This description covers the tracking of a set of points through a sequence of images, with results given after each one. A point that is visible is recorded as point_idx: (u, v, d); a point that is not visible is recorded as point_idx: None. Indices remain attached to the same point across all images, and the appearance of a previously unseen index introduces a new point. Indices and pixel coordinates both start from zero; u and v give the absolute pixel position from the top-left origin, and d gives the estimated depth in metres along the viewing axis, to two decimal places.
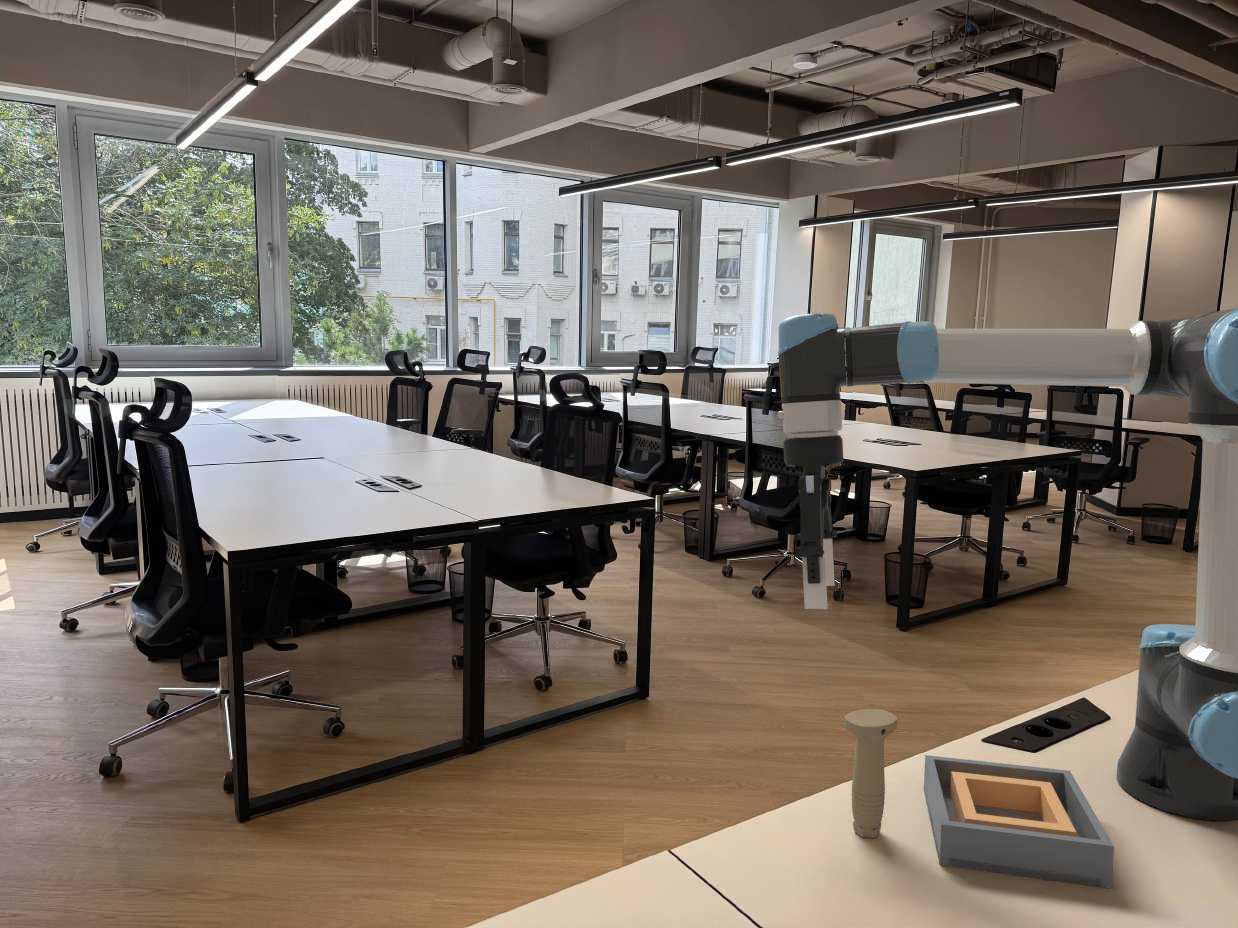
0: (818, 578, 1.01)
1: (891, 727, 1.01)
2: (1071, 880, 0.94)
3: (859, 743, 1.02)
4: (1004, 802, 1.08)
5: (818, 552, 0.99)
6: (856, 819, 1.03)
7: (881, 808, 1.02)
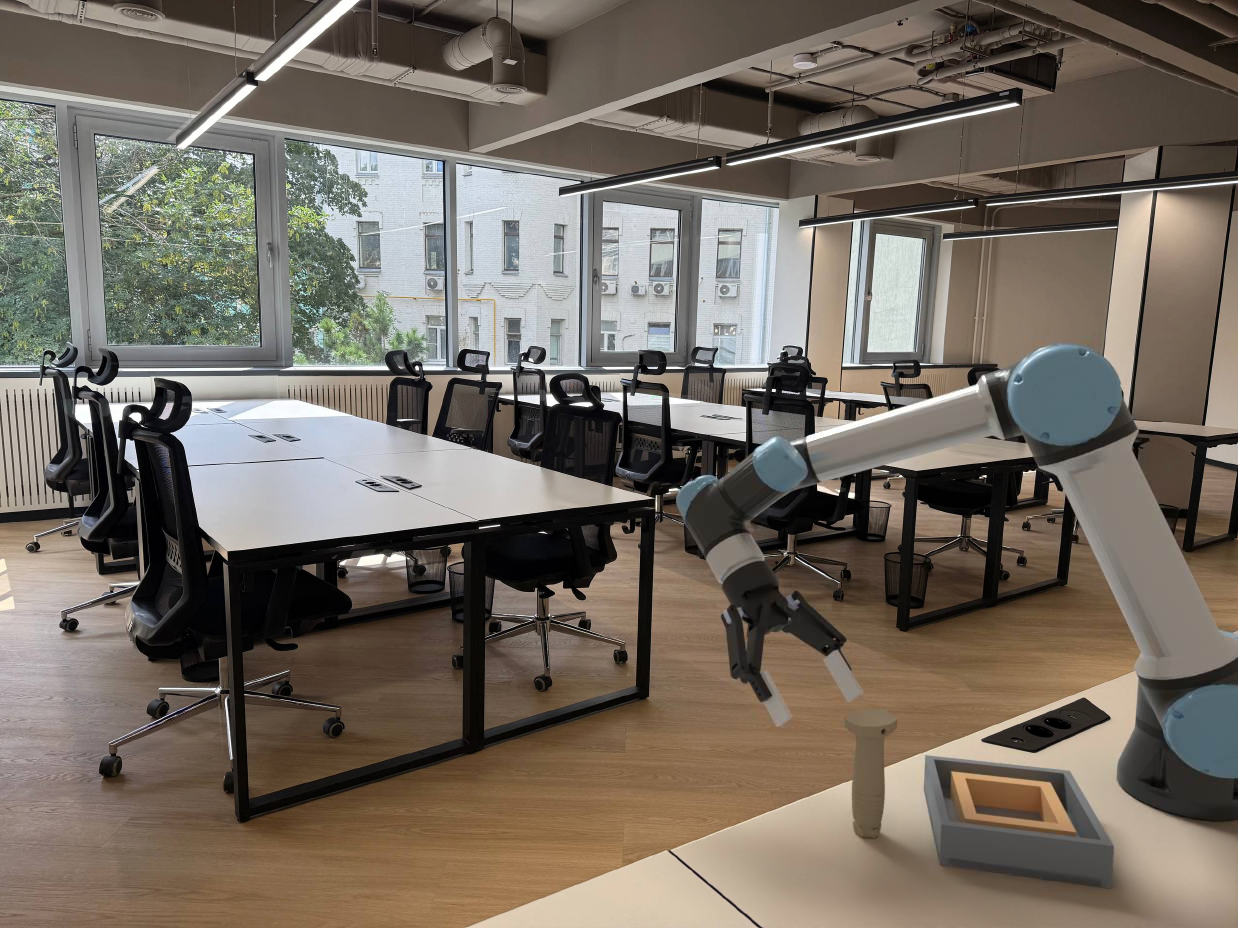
0: (762, 693, 1.05)
1: (891, 727, 1.01)
2: (1071, 880, 0.94)
3: (859, 743, 1.02)
4: (1004, 802, 1.08)
5: (741, 670, 1.06)
6: (856, 819, 1.03)
7: (881, 808, 1.02)
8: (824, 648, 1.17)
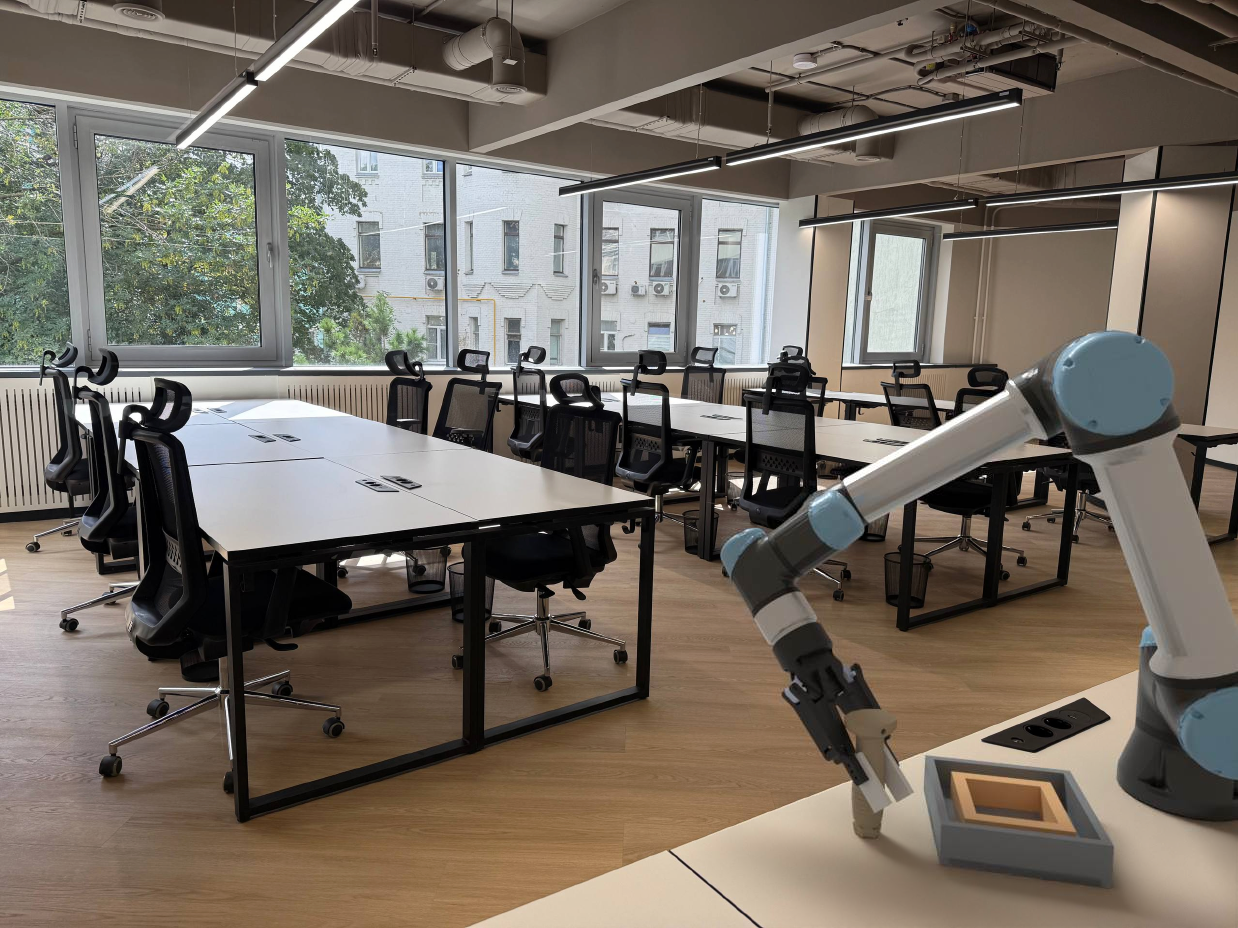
0: (859, 777, 1.00)
1: (891, 727, 1.01)
2: (1071, 880, 0.94)
3: (859, 742, 1.02)
4: (1004, 802, 1.08)
5: (836, 752, 1.00)
6: (856, 819, 1.03)
7: None
8: None
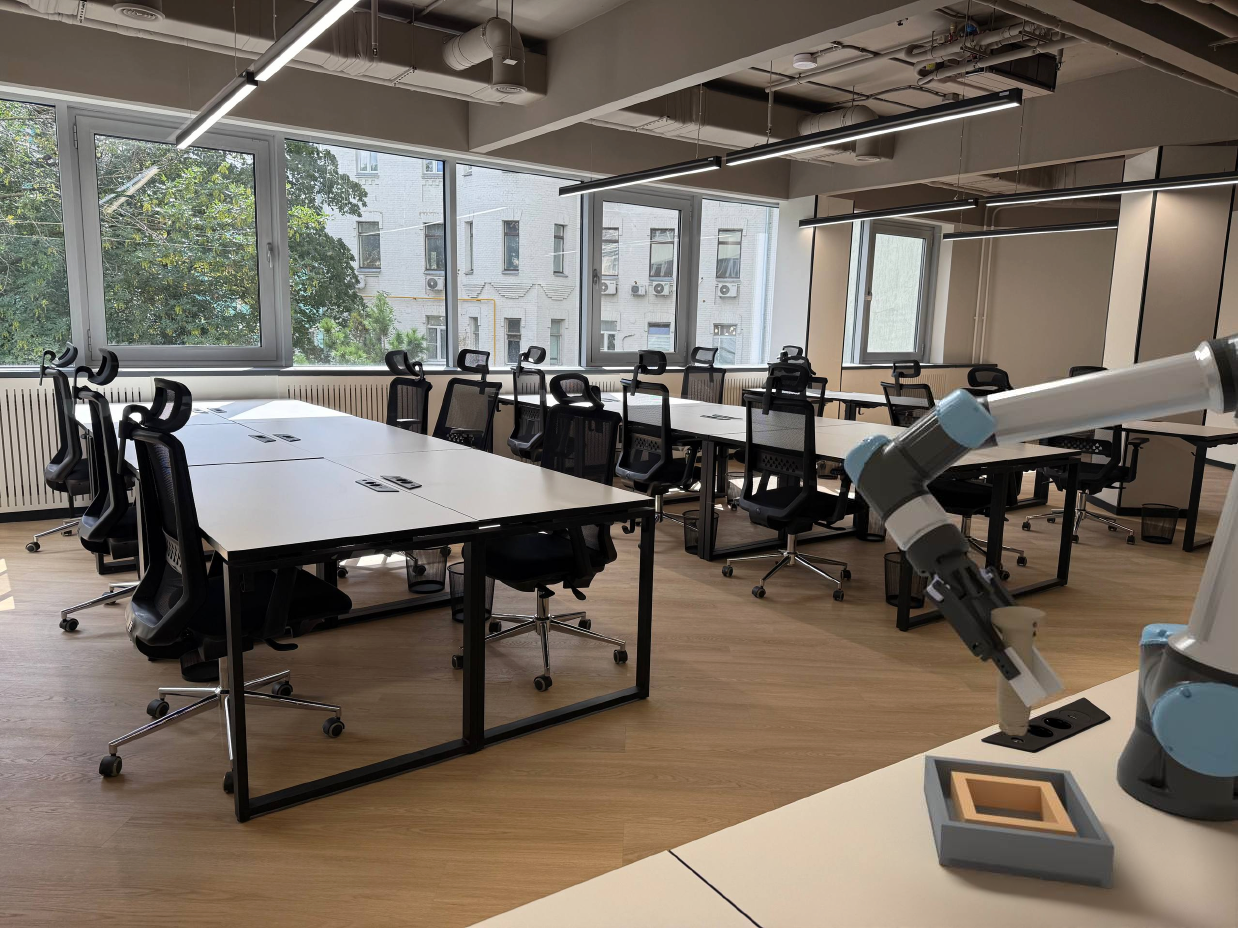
0: (1011, 671, 0.98)
1: (1041, 621, 0.99)
2: (1071, 880, 0.94)
3: (1008, 638, 1.00)
4: (1004, 802, 1.08)
5: (986, 646, 0.99)
6: (1003, 717, 1.01)
7: None
8: None
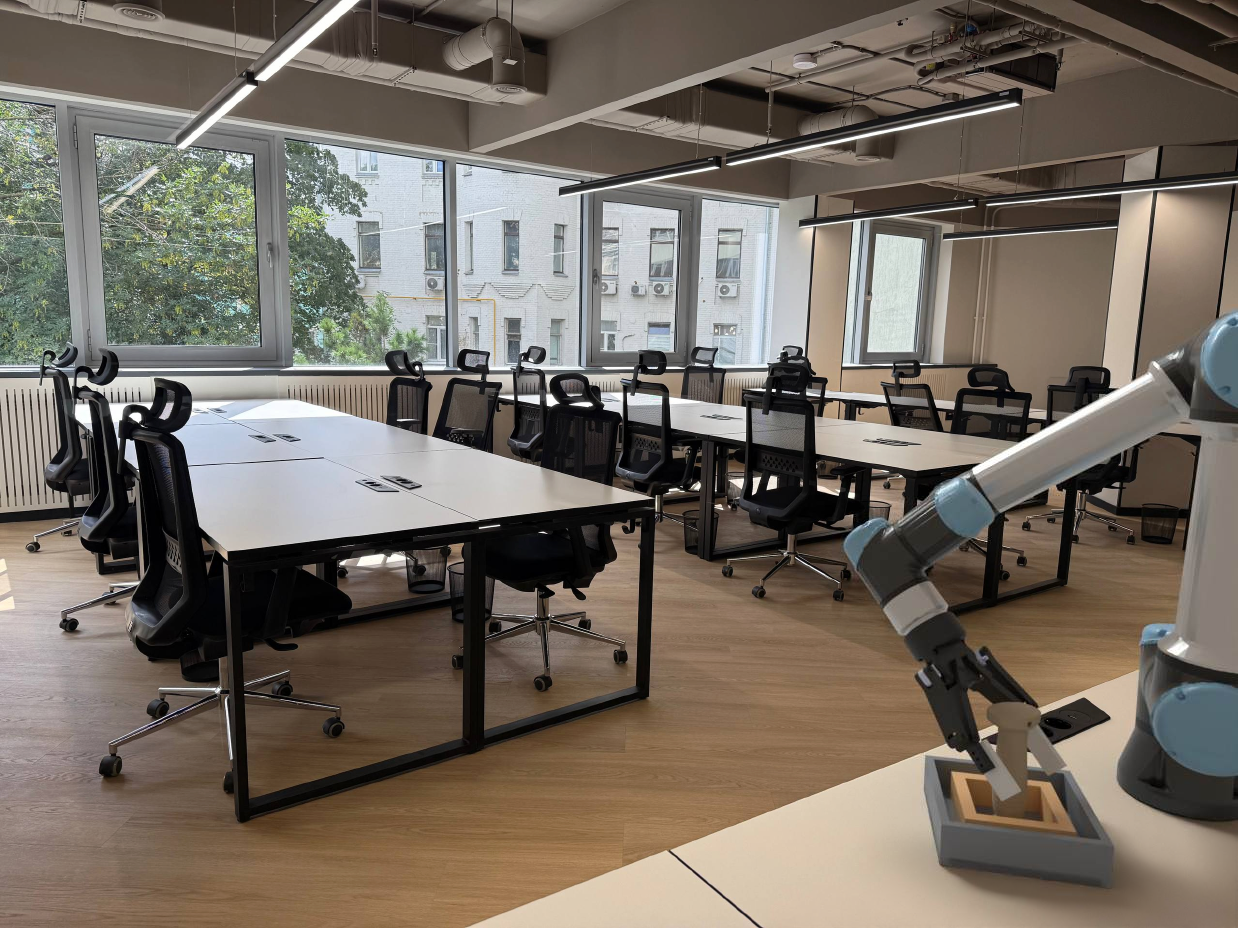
0: (986, 764, 0.98)
1: (1036, 720, 1.01)
2: (1071, 880, 0.94)
3: (1003, 735, 1.02)
4: None
5: (961, 740, 0.99)
6: (998, 812, 1.03)
7: (1024, 801, 1.02)
8: None
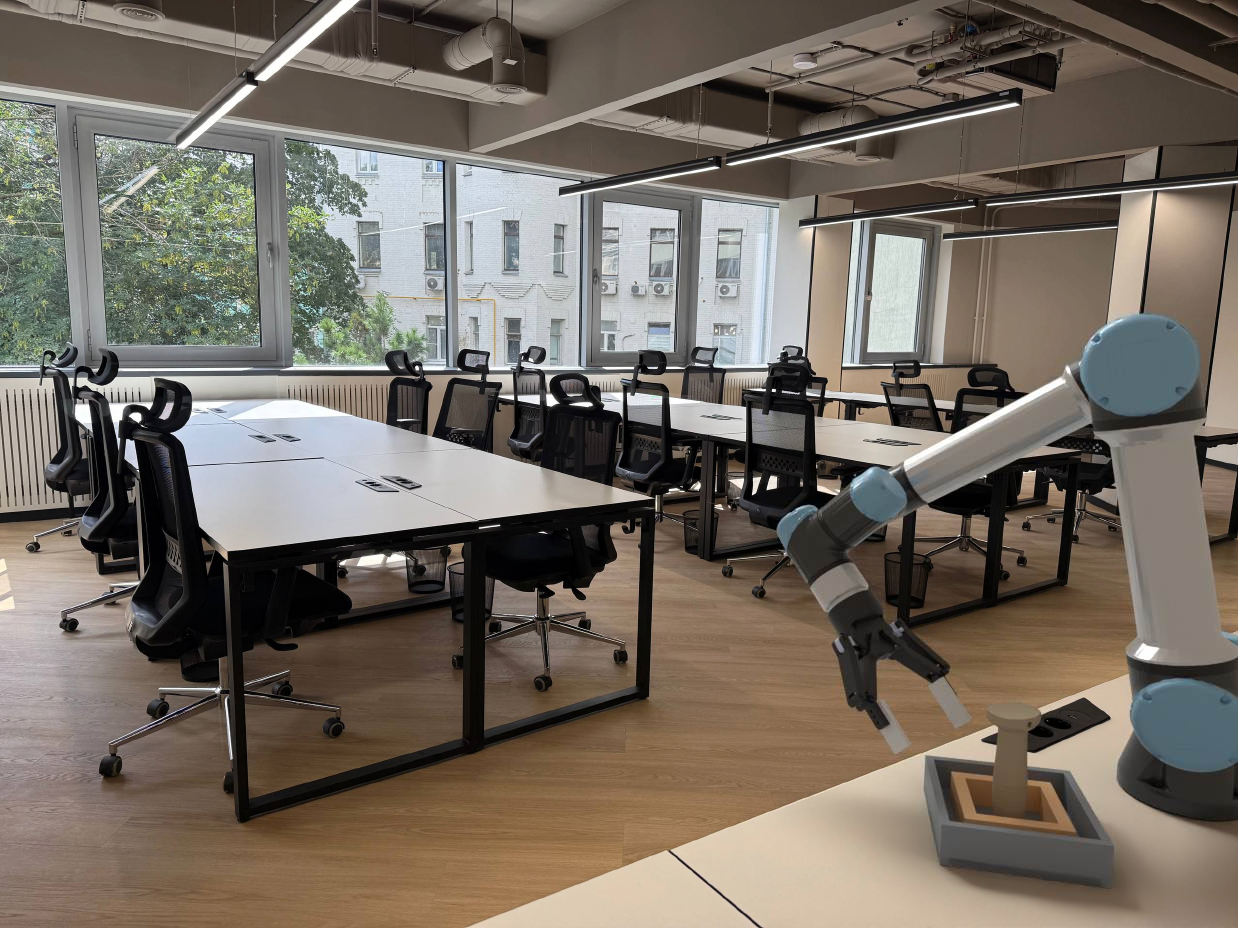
0: (881, 721, 1.08)
1: (1036, 720, 1.01)
2: (1071, 880, 0.94)
3: (1003, 736, 1.02)
4: None
5: (859, 699, 1.09)
6: (998, 812, 1.03)
7: (1024, 801, 1.02)
8: (928, 675, 1.20)
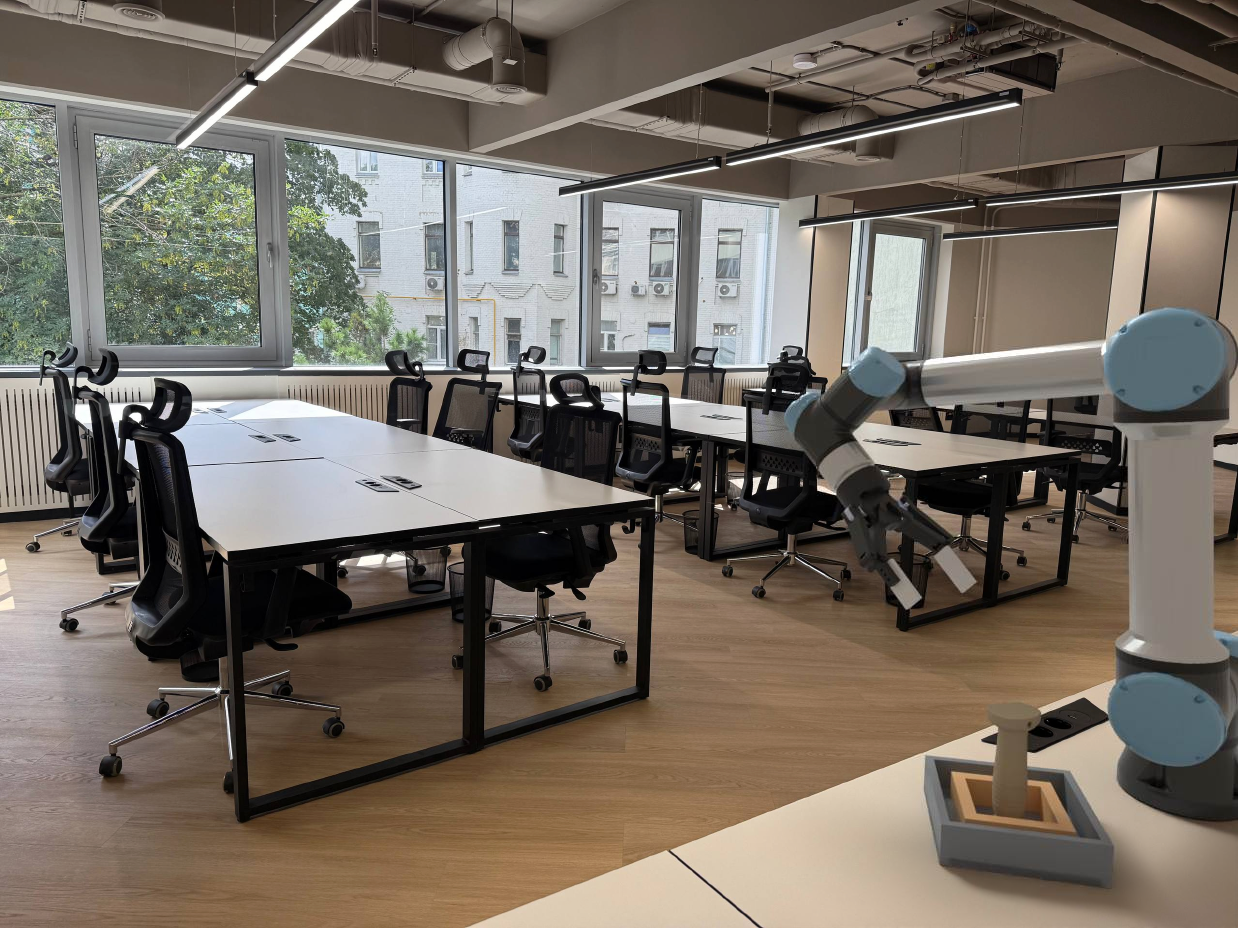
0: (892, 578, 1.13)
1: (1036, 720, 1.01)
2: (1071, 880, 0.94)
3: (1003, 736, 1.02)
4: None
5: (870, 557, 1.13)
6: (998, 812, 1.03)
7: (1024, 801, 1.02)
8: (934, 546, 1.25)
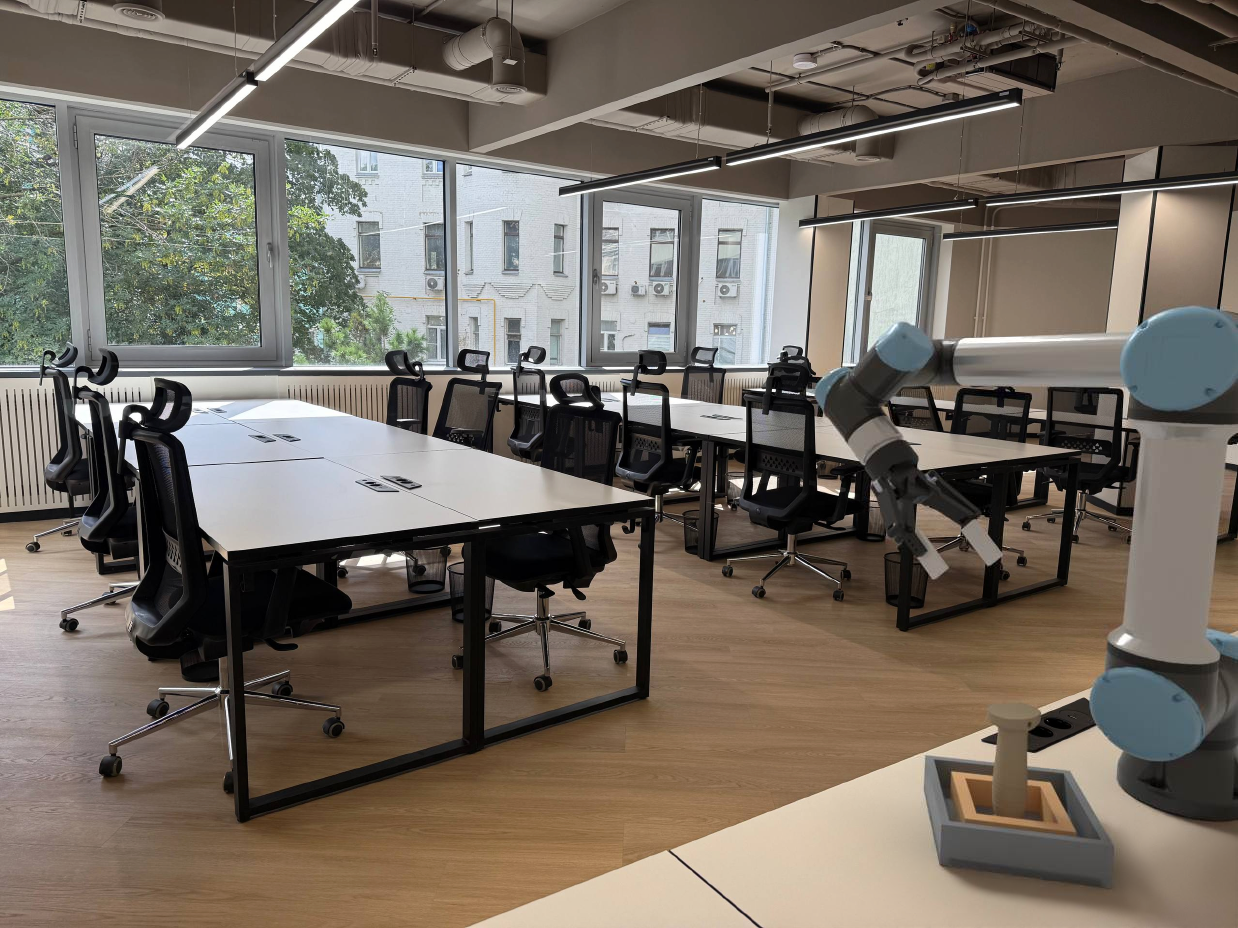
0: (919, 548, 1.15)
1: (1036, 720, 1.01)
2: (1071, 880, 0.94)
3: (1003, 736, 1.02)
4: None
5: (898, 528, 1.15)
6: (998, 812, 1.03)
7: (1024, 801, 1.02)
8: (961, 520, 1.27)
